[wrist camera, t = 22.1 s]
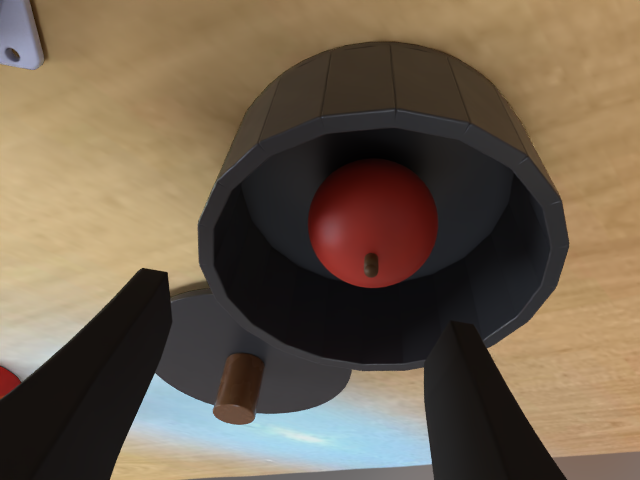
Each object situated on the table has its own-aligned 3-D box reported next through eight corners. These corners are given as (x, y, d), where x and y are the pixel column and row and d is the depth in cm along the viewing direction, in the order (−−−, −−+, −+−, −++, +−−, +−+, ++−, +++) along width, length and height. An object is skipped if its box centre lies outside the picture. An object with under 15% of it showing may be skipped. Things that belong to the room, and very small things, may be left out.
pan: (228, 261, 25) (200, 345, 21) (237, 7, 16) (192, 68, 12) (457, 301, 25) (474, 389, 21) (589, 79, 16) (661, 159, 12)
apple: (307, 231, 22) (284, 315, 16) (327, 128, 19) (308, 190, 14) (411, 254, 22) (422, 344, 16) (447, 154, 19) (474, 225, 14)
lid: (154, 384, 35) (131, 445, 31) (132, 261, 25) (95, 328, 22) (331, 412, 36) (327, 474, 32) (375, 302, 26) (376, 374, 23)
